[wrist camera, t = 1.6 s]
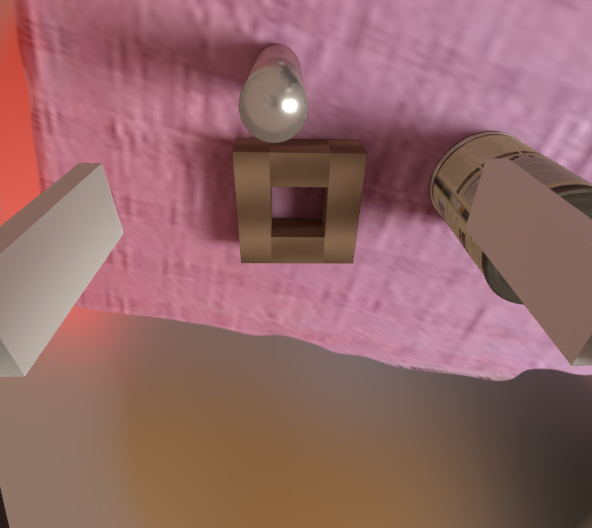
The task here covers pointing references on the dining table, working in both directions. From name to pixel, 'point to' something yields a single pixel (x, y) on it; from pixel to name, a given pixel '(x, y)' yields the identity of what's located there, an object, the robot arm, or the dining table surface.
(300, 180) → the hole block
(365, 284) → the dining table surface
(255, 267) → the dining table surface
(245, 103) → the long pin
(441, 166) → the coffee can
